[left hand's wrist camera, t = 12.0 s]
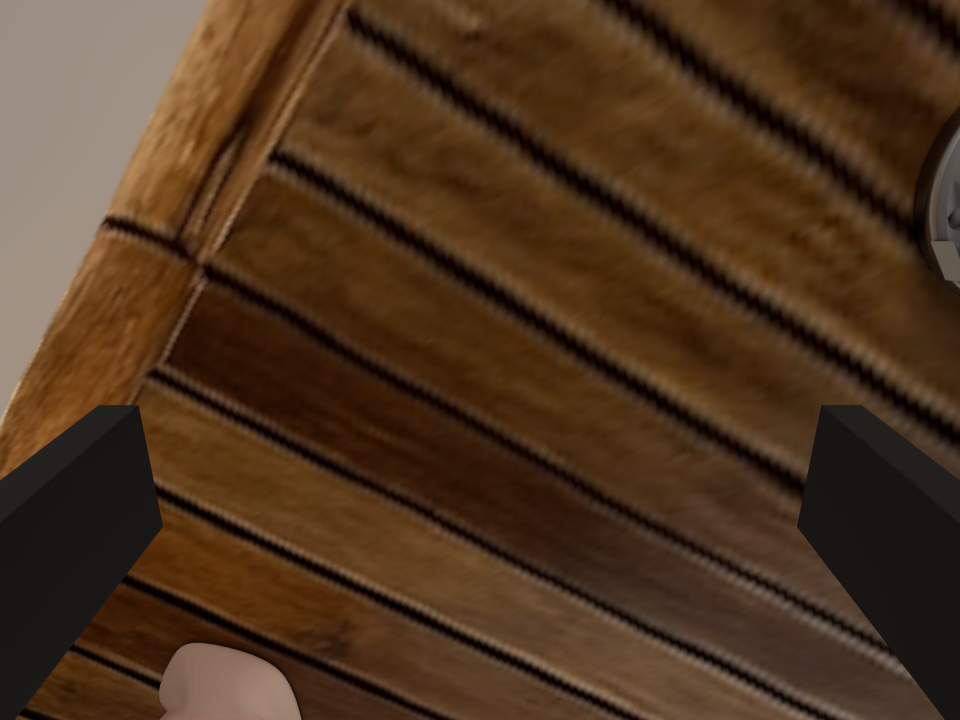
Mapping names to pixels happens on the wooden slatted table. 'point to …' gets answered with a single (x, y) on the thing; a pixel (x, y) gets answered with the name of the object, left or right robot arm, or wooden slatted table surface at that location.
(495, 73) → the wooden slatted table surface
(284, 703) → the anatomical model
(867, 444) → the left robot arm
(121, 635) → the wooden slatted table surface
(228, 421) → the wooden slatted table surface
